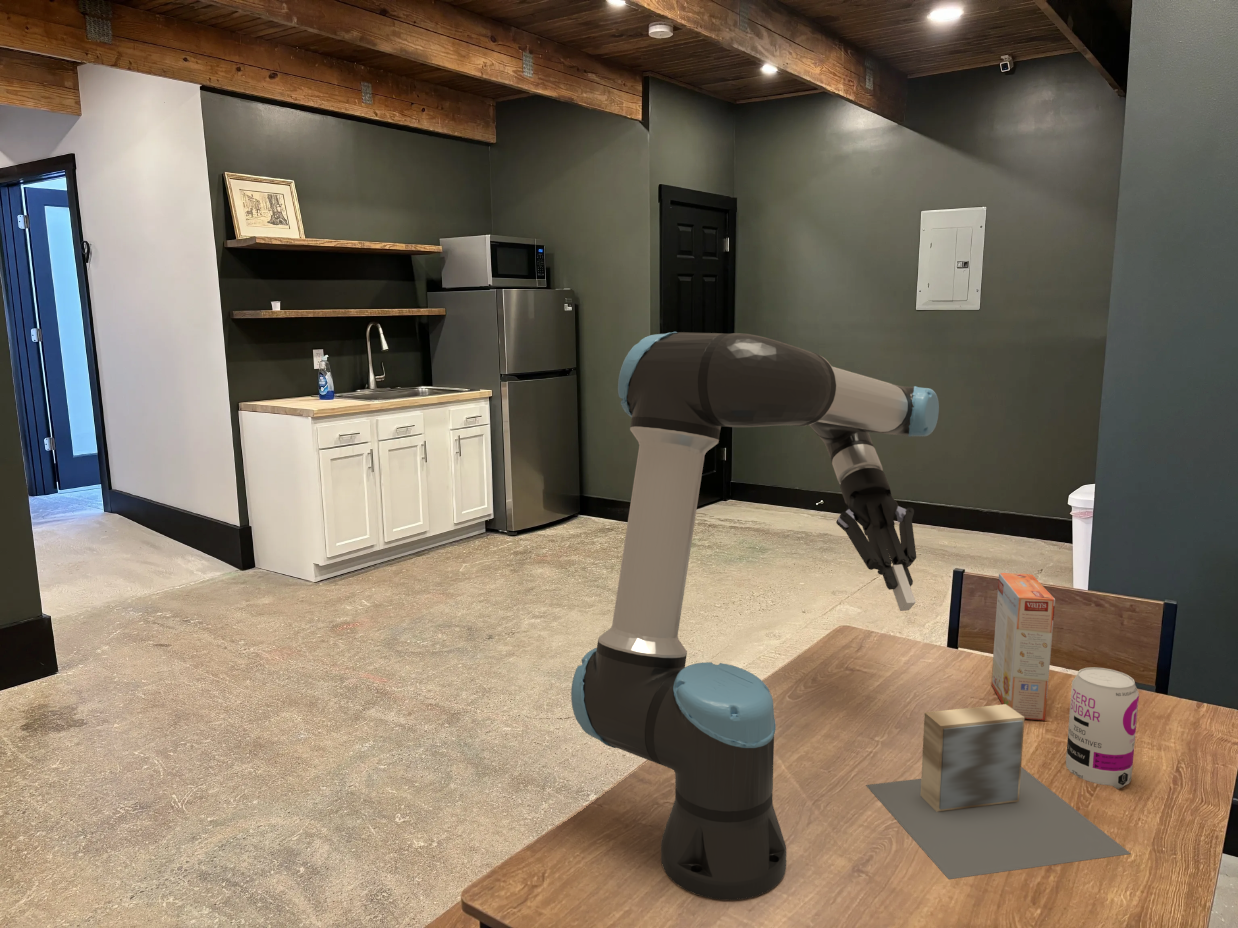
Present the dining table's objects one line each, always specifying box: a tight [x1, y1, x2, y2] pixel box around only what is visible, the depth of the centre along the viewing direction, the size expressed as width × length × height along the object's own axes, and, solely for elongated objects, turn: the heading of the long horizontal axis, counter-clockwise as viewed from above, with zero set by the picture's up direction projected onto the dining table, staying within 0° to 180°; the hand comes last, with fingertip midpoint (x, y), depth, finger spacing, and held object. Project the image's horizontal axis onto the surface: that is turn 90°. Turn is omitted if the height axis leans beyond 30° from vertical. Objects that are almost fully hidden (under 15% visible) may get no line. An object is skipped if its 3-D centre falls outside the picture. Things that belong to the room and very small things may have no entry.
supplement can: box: [1065, 666, 1140, 790], centre depth 124 cm, size 8×8×15 cm
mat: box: [865, 766, 1132, 880], centre depth 114 cm, size 24×21×1 cm
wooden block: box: [920, 704, 1025, 812], centre depth 117 cm, size 12×4×12 cm, turn 101°
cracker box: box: [990, 572, 1056, 721], centre depth 147 cm, size 14×6×21 cm, turn 168°
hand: (908, 606), depth 133 cm, fingers closed
